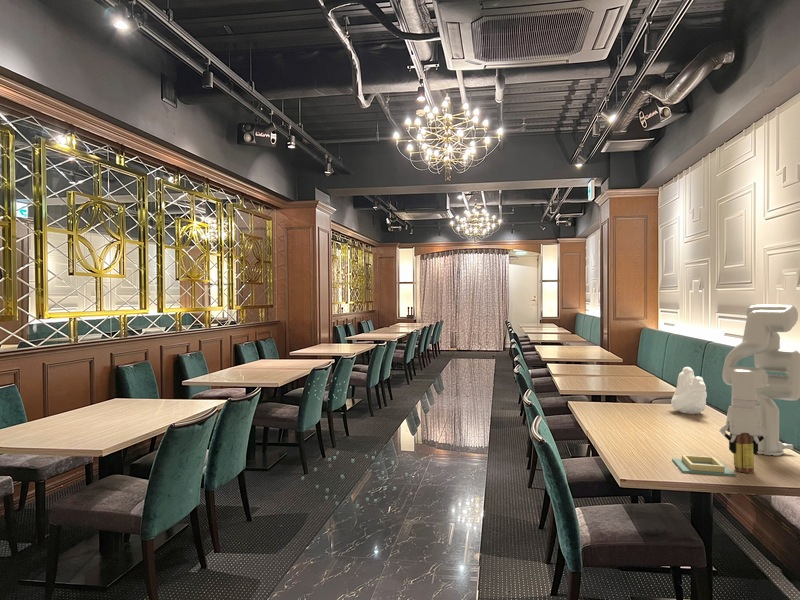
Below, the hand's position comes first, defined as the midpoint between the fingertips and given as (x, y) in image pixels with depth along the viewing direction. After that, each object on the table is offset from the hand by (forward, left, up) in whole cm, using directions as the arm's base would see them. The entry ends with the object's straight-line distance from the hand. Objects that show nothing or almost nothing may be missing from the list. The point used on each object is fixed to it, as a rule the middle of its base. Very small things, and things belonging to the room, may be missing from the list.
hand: (743, 452), depth 198 cm
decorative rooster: (-9, -101, -7) cm, 102 cm away
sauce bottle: (0, 0, -7) cm, 7 cm away
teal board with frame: (+13, 0, -7) cm, 15 cm away
